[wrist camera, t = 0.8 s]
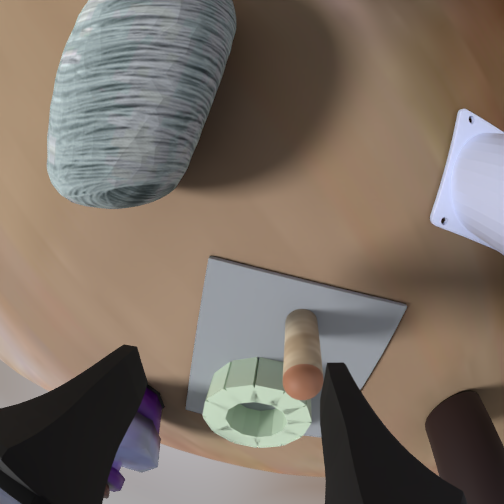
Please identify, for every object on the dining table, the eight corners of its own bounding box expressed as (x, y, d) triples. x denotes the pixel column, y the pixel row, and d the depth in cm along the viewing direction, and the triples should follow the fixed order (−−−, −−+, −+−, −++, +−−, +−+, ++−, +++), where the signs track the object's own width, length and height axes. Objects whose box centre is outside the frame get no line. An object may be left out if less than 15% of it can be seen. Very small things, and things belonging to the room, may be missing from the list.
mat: (405, 303, 19) (407, 306, 19) (326, 435, 25) (326, 438, 25) (210, 255, 20) (208, 257, 19) (186, 406, 26) (185, 409, 25)
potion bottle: (101, 350, 25) (33, 443, 14) (186, 387, 25) (142, 501, 14) (101, 400, 28) (54, 479, 17) (172, 431, 28) (138, 521, 17)
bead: (324, 370, 22) (326, 398, 19) (292, 428, 25) (290, 453, 22) (219, 346, 22) (210, 373, 19) (206, 409, 25) (198, 434, 22)
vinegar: (411, 428, 25) (442, 591, 6) (452, 385, 22) (512, 563, 3) (451, 431, 25) (488, 569, 6) (489, 391, 22) (547, 536, 4)
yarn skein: (199, 252, 16) (19, 228, 7) (109, 192, 20) (-14, 160, 11) (307, 42, 14) (224, -90, 5) (194, 33, 18) (105, -42, 9)
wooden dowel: (321, 312, 20) (331, 384, 14) (311, 337, 21) (315, 411, 14) (290, 305, 20) (288, 377, 14) (281, 331, 21) (276, 404, 15)
